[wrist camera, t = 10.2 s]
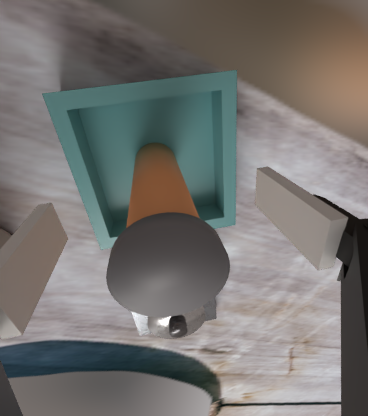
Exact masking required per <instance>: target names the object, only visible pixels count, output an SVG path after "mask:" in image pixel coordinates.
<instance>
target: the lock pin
mask: <svg viewBox="0 0 368 416" xmlns="http://www.w3.org/2000/svg"><path fill="white" fill-rule="evenodd" d="M229 270H230V263H229V258H228V254H227V252H226V250H225V248H224V246H223V244H222V242H221V240H220V238H219V236H218V234H217V232H216V231H215V230H214V229H213V228H212V227H211V226H210V225H209V224H208V223H207V222H205V221H204V220H202V219H200V218H199V215H198V213H197V210H196V208H195V205H194V203H193V200H192V198H191V195H190V193H189V190H188V188H187V185H186V183H185V180H184V178H183V175H182V173H181V170H180V168H179V165H178V163H177V161H176V158H175V156H174V153H173V152H172V150H171V149H170V148H169V147H167V146H166V145H164V144H161V143H149V144H146V145H145V146H143V147H142V148H141V149H140V150H139V151H138V153H137V155H136V158H135V165H134V173H133V180H132V188H131V196H130V203H129V211H128V218H127V226H126V229H125V230H124V231H123V232H122V233H121V234H120V235H119V236H118V238H117V239H116V241H115V242H114V245H113V247H112V250H111V254H110V258H109V263H108V268H107V276H106V279H107V285H108V289H109V291H110V293H111V295H112V296H113V297H114V299H115V300H116V301H117V302H118V303H119V304H120V305H122V306H123V307H124V308H126V309H128V310H130V311H132V312H135V313H137V314H141V315H145V316H151V317H171V316H177V315H181V314H185V313H188V312H191V311H193V310H196V309H198V308H200V307H202V306H203V305H205V304H206V303H208V302H209V301H211V300H212V299H213V298H214V297H215V296H216V295H217V294H218V293H219V292H220V291H221V289H222V288H223V286H224V285H225V283H226V281H227V278H228V275H229Z"/></svg>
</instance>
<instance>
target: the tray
mask: <svg viewBox="0 0 368 416" xmlns="http://www.w3.org/2000/svg"><path fill="white" fill-rule="evenodd" d="M42 95H43V97H44V100H45V103H46V105H47V108H48V111H49V113H50V116H51V119H52V121H53V124H54V127H55V129H56V132H57V135H58V137H59V140H60V142H61V145H62V148H63V150H64V153H65V156H66V158H67V161H68V164H69V166H70V169H71V172H72V174H73V177H74V180H75V182H76V185H77V188H78V190H79V193H80V195H81V198H82V201H83V203H84V206H85V209H86V211H87V214H88V217H89V219H90V222H91V225H92V227H93V230H94V233H95V235H96V238H97V241H98V243H99V246H100V248H101V250H103V249H108V248H112V247H113V245H114V242H115V241H116V239H117V238H118V236H119V235H120V234H121V233H122V232H123V231H124V230H125V229H126V226H127V218H128V211H129V203H130V196H131V188H132V180H133V173H134V165H135V158H136V155H137V153H138V151H139V150H140V149H141V148H142V147H143V146H145V145H146V144H149V143H161V144H164V145H166V146H167V147H169V148H170V149H171V150H172V152H173V153H174V156H175V158H176V161H177V163H178V165H179V168H180V170H181V173H182V175H183V178H184V180H185V183H186V185H187V188H188V190H189V193H190V195H191V198H192V200H193V203H194V205H195V208H196V210H197V213H198V215H199V218H200V219H202V220H204V221H205V222H207V223H208V224H209V225H210V226H211V227H212V228H213V229H216V228H221V227H227V226H232V225H235V218H236V110H237V70H232V71H224V72H216V73H208V74H199V75H191V76H183V77H175V78H167V79H158V80H150V81H142V82H134V83H126V84H117V85H109V86H101V87H93V88H84V89H76V90H68V91H60V92H52V93H43V94H42Z"/></svg>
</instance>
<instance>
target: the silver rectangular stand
mask: <svg viewBox="0 0 368 416" xmlns="http://www.w3.org/2000/svg"><path fill="white" fill-rule="evenodd" d="M132 314H133V317H134V320H135V323H136V326H137V329H138V331H139V334H140V336H141V335H145V334H150V333H152V334H153V335H155V336H157V337H160V338H164V339H177V338H181V337H185V336H188V335H190V334H192V333H194V332H195V331H197V330H198V329H199V328H200V327H201V326H202V325H203V323H204V321H208V320H212V319H216V301H215V297H214V298H213V299H212V300H211V301H209V302H208V303H206V304H205V305H203V306H202V307H200V308H198V309H196V310H193V311H191V312H188V313H185V314H181V315H177V316H171V317H151V316H145V315H141V314H137V313H135V312H132Z"/></svg>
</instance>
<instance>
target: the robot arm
mask: <svg viewBox="0 0 368 416" xmlns="http://www.w3.org/2000/svg"><path fill="white" fill-rule="evenodd" d="M255 205H256V206H257V207H258V208H259V209H260V211H261V212H262V213H263V214H264V215H265V216H266V217H267V218H268V219H269V220H270V221H271V222H272V223H273V224H274V225H275V226H276V227H277V228H278V229H279V230H280V231H281V232H282V233H283V234H284V235H285V236H286V238H287V239H288V240H289V241H290V242H291V243H292V244H293V245H294V246H295V247H296V248H297V249H298V250H299V251H300V252H301V253H302V254H303V255H304V256H305V257H306V258H307V259H308V260H309V261H310V262H311V264H312V265H313V266H314V267H315V268H316V269H317V270H322V269H327V268H331V267H333V266H334V263H335V260H336V257H337V258H338V259H339V260H341V261H342V262H343V264H342V267H341V270H340V273H339V276H338V279H337V281H340V280H341V416H368V219H358V218H357V217H355V216H354V215H352V214H350V213H349V212H347V211H345V210H344V209H342V208H339V206H337V205H335V204H333V203H332V202H331V201H329V200H327V199H326V198H323V197H320V196H317V195H312V194H310V193H309V192H307V191H306V190H304V189H302V188H301V187H299V186H298V185H296V184H295V183H293V182H291V181H290V180H288V179H287V178H285V177H284V176H282V175H280V174H279V173H277V172H276V171H274V170H272V169H271V168H269V167H263V168H257V177H256V194H255ZM67 240H68V238H67V235H66V233H65V231H64V229H63V227H62V225H61V222H60V220H59V218H58V216H57V214H56V211H55V209H54V207H53V205H52V203H47V204H41V205H38V206H37V207H36V208H35V209H34V211H33V212H32V213H31V214H30V215H29V216H28V218H27V219H26V220H25V221H24V222H23V223H22V225H21V226H20V227H19V228H18V229H17V230H16V232H15V233H14V234H13V235H12V236H11V237H10V239H9V240H8V241H7V242H6V243H5V244H4V246H3V247H2V248H1V249H0V337H1V338H2V339H7V338H11V337H16V336H20V335H23V333H24V331H25V329H26V327H27V324H28V322H29V320H30V318H31V316H32V314H33V312H34V310H35V308H36V305H37V303H38V301H39V299H40V297H41V295H42V293H43V291H44V289H45V286H46V284H47V282H48V280H49V278H50V276H51V274H52V272H53V270H54V267H55V265H56V263H57V261H58V259H59V257H60V255H61V253H62V251H63V249H64V246H65V244H66V242H67ZM0 416H23V415H22V412H21V410H20V407H19V405H18V403H17V400H16V398H15V395H14V393H13V390H12V388H11V386H10V383H9V381H8V378H7V376H6V373H5V371H4V368H3V366H2V363H1V361H0Z"/></svg>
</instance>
